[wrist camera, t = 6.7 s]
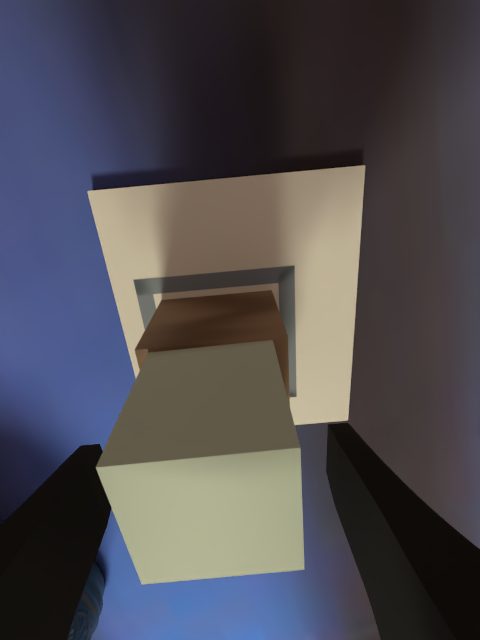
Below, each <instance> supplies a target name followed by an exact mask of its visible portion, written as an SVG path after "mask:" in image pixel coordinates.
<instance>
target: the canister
mask: <svg viewBox="0 0 480 640" xmlns="http://www.w3.org/2000/svg"><path fill="white" fill-rule="evenodd" d="M104 589H105V581H104V577H103V574H102V572H101V570H100V569H99V567H98V566H97V564H96V563H95V562H94V563H93V566H92V569H91V571H90V574H89V577H88V580H87V582H86V585H85V588H84V590H83V593H82V596H81V599H80V601H79V604H78V607H77V610H76V613H75V616H74V619H73V622H72V625H71V628H70V631H69V634H68V638H67V640H91V637H92V635H93V633H94V632H95V630H96V628H97V625H98V621H99V616H100V614H101V611H102V606H103V594H104Z"/></svg>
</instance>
